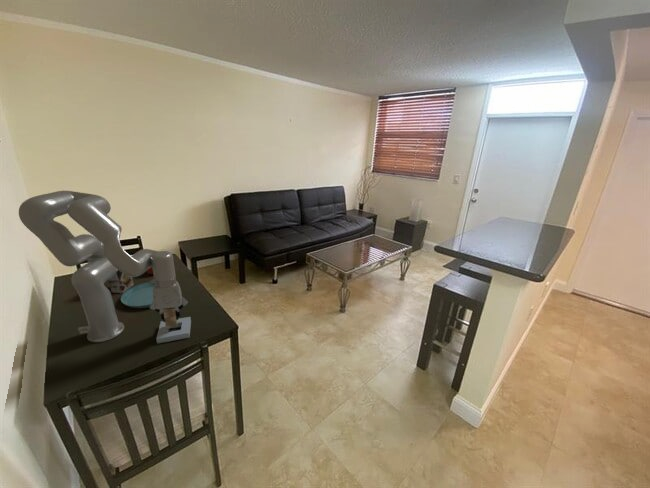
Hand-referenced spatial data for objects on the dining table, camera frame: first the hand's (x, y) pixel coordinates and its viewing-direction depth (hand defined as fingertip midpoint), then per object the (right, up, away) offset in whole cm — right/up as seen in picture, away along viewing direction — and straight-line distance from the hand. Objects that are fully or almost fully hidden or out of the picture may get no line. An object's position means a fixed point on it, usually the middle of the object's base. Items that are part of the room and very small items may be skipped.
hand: (171, 318), depth 120 cm
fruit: (-38, +14, +52) cm, 66 cm away
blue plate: (-26, +4, +27) cm, 37 cm away
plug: (0, -3, +1) cm, 3 cm away
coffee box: (-45, +7, +34) cm, 57 cm away
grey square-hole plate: (0, -6, +2) cm, 7 cm away
